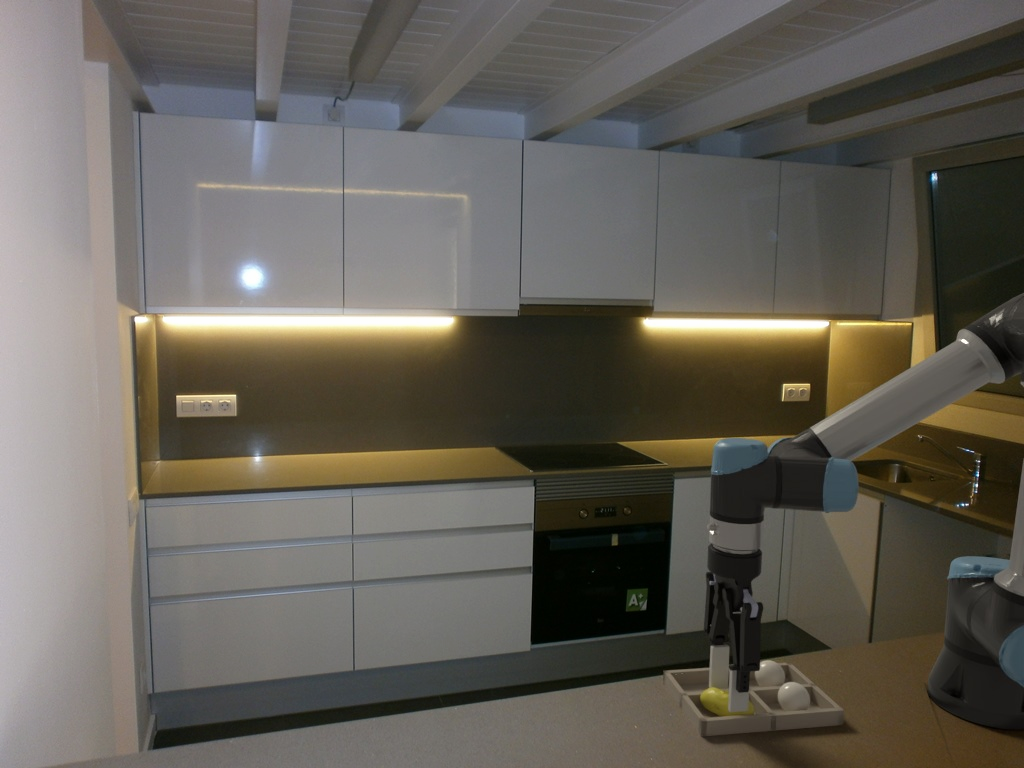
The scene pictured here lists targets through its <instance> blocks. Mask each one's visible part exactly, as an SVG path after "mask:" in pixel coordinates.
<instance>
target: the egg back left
mask: <svg viewBox="0 0 1024 768" xmlns="http://www.w3.org/2000/svg"><path fill="white" fill-rule="evenodd" d="M778 702H779V704H780V706H781V707H782V709H783V710H784V711H786V712H787V711H800V710H808V708H809V706H810V696H809V693H808V691H807V690H806V689H805V687H803V686H802V685H801V684H799V683H796V682H788V683H785V684H783V685H782V686H781V687H780V689H779V691H778Z"/></svg>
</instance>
